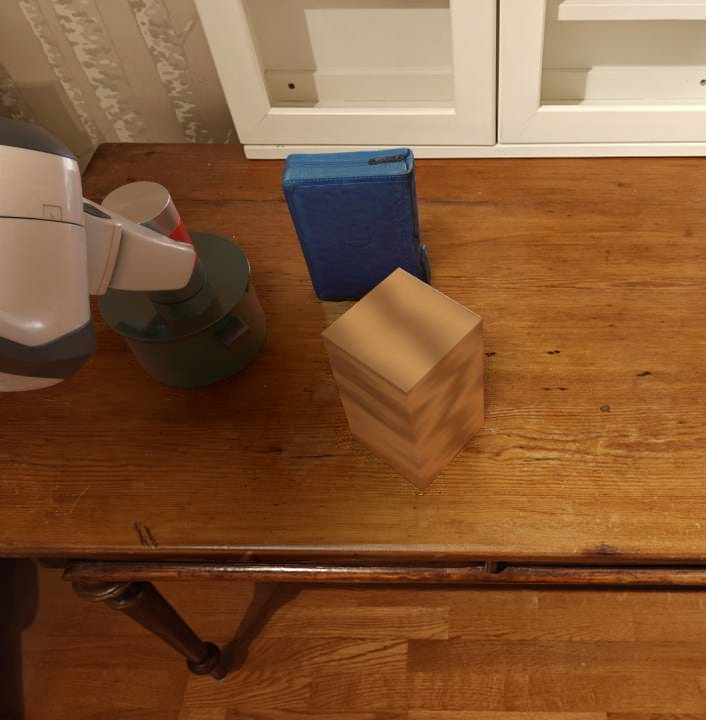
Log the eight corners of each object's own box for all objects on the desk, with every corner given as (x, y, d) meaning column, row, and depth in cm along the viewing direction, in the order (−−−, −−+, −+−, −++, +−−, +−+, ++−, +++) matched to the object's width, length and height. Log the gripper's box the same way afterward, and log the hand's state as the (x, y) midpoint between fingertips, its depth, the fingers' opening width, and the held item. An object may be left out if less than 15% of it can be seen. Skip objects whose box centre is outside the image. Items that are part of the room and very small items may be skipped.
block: (423, 491, 71) (406, 392, 56) (353, 438, 75) (320, 333, 60) (484, 425, 76) (483, 318, 61) (415, 378, 79) (398, 267, 65)
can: (169, 313, 73) (125, 235, 64) (132, 285, 75) (85, 206, 67) (218, 278, 76) (183, 198, 67) (181, 252, 78) (143, 172, 70)
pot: (201, 425, 76) (169, 375, 68) (97, 337, 83) (58, 284, 76) (309, 334, 83) (291, 280, 76) (205, 261, 91) (179, 205, 83)
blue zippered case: (431, 271, 89) (419, 138, 73) (432, 302, 86) (419, 170, 70) (318, 277, 89) (281, 144, 73) (315, 308, 86) (275, 177, 70)
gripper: (-57, 217, 62) (82, 232, 75) (103, 303, 56) (225, 303, 69) (-43, 148, 61) (95, 175, 74) (121, 228, 55) (242, 242, 67)
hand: (159, 237), depth 71 cm, fingers closed on can, 6 cm apart
